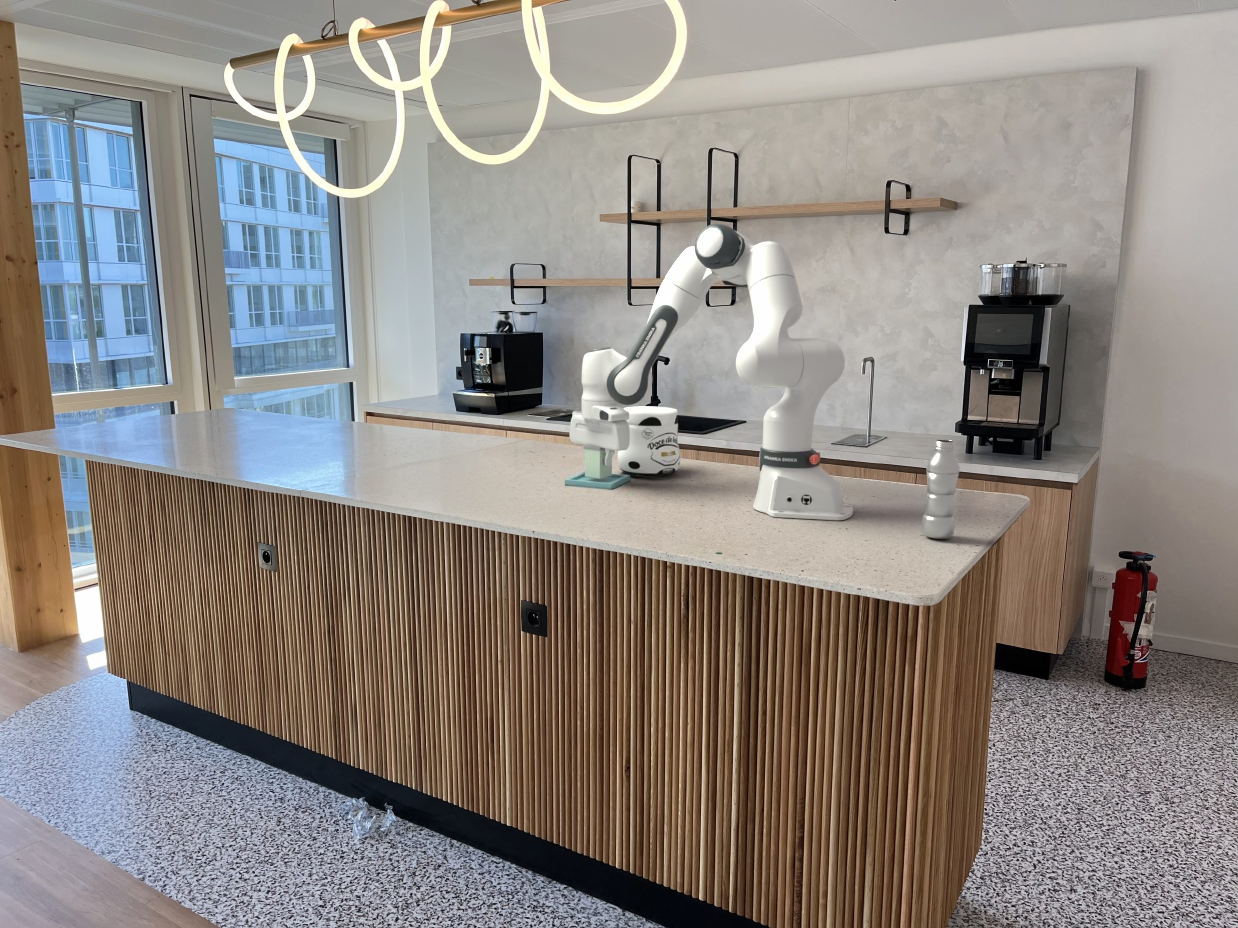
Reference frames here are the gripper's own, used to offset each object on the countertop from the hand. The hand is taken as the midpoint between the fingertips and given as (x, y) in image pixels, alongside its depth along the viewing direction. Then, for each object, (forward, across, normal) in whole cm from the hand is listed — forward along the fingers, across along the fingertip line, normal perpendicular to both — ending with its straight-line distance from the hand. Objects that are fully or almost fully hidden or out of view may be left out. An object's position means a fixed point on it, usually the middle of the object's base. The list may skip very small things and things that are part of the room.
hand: (598, 463), depth 232 cm
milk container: (+5, 0, +19) cm, 19 cm away
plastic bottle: (+6, +86, +17) cm, 88 cm away
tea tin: (+3, 0, 0) cm, 3 cm away
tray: (+5, 0, 0) cm, 5 cm away
